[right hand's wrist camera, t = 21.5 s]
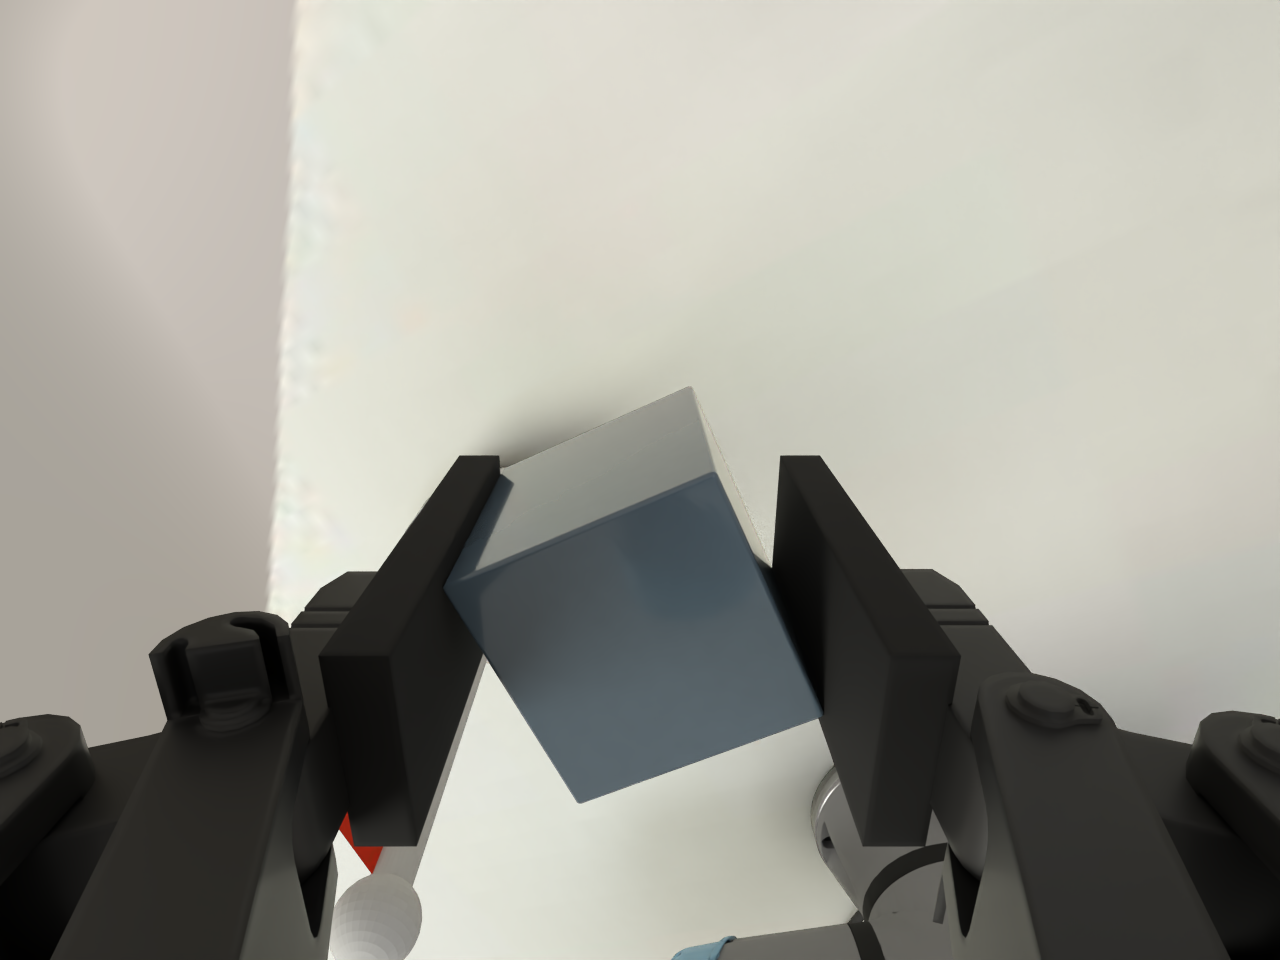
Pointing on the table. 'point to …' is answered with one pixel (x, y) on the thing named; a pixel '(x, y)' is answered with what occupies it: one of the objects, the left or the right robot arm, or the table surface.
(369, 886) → the flag stand
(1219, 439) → the table surface
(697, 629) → the block
